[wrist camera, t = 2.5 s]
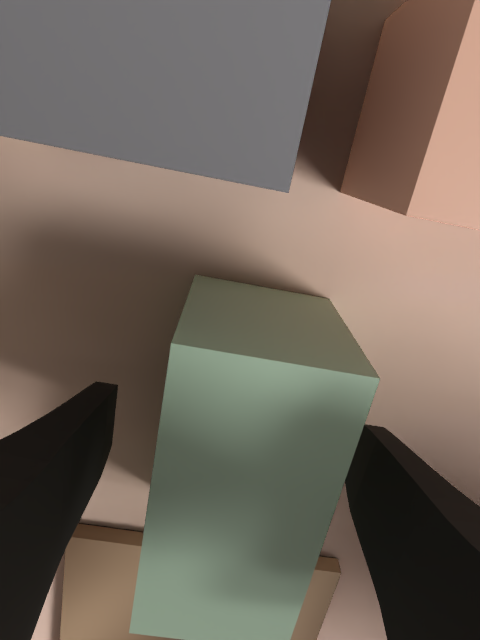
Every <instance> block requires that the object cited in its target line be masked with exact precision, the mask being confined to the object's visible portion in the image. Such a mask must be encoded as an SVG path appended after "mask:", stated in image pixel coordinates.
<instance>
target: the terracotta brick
mask: <svg viewBox="0 0 480 640" xmlns="http://www.w3.org/2000/svg"><path fill="white" fill-rule="evenodd" d="M340 192H341V193H344V194H347V195H350V196H352V197H355V198H358V199H361V200H364V201H366V202H369V203H372V204H375V205H378V206H380V207H383V208H386V209H389V210H392V211H394V212H397V213H400V214H403V215H406V216H410V217H415V218H420V219H425V220H430V221H435V222H440V223H445V224H450V225H456V226H461V227H466V228H471V229H476V230H480V0H407V1H405V2H404V3H403V4H402V5H401V6H400V7H399V8H398V9H397V10H396V11H395V12H394V13H392V14H391V15H390V16H389V17H388V18H387V19H386V20H385V22H384V26H383V29H382V33H381V37H380V41H379V45H378V49H377V52H376V56H375V60H374V64H373V68H372V72H371V75H370V79H369V83H368V87H367V91H366V94H365V98H364V102H363V106H362V110H361V114H360V117H359V121H358V125H357V129H356V133H355V136H354V140H353V144H352V148H351V152H350V156H349V159H348V163H347V167H346V171H345V175H344V178H343V182H342V186H341V190H340Z"/></svg>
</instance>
